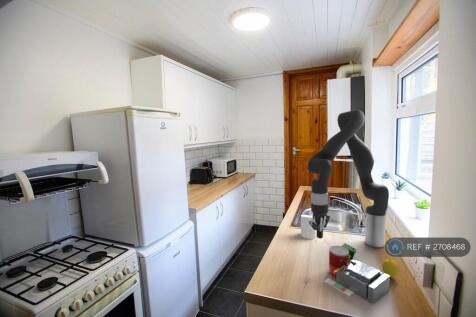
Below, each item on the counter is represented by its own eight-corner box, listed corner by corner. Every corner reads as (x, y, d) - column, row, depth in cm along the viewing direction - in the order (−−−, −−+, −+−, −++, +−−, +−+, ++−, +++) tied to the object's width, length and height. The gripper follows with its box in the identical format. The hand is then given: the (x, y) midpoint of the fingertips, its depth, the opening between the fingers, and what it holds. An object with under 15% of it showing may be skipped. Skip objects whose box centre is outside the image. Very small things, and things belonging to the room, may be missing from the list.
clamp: (344, 272, 109) (346, 261, 104) (332, 265, 113) (333, 253, 108) (356, 255, 115) (358, 244, 110) (344, 248, 119) (346, 237, 114)
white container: (317, 233, 140) (318, 214, 139) (315, 240, 132) (315, 220, 131) (302, 231, 144) (302, 212, 143) (299, 237, 136) (299, 217, 135)
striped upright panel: (328, 278, 98) (328, 277, 98) (353, 293, 89) (353, 292, 89) (324, 281, 96) (324, 280, 96) (349, 296, 87) (349, 295, 87)
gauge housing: (352, 272, 102) (353, 256, 101) (389, 290, 90) (389, 272, 89) (336, 283, 95) (336, 265, 94) (373, 304, 83) (373, 284, 82)
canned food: (341, 281, 95) (341, 256, 94) (325, 272, 102) (325, 248, 101) (352, 275, 99) (352, 251, 98) (335, 266, 106) (336, 243, 105)
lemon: (397, 282, 94) (398, 264, 93) (381, 278, 97) (382, 260, 96) (397, 275, 98) (398, 257, 97) (381, 271, 101) (382, 254, 100)
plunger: (350, 273, 100) (350, 259, 99) (370, 284, 93) (371, 268, 92) (331, 286, 93) (332, 270, 92) (352, 298, 86) (352, 281, 85)
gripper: (321, 197, 112) (321, 231, 114) (303, 202, 105) (304, 239, 107) (335, 200, 106) (335, 236, 108) (317, 206, 99) (317, 245, 101)
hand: (319, 237), depth 107 cm, fingers closed
